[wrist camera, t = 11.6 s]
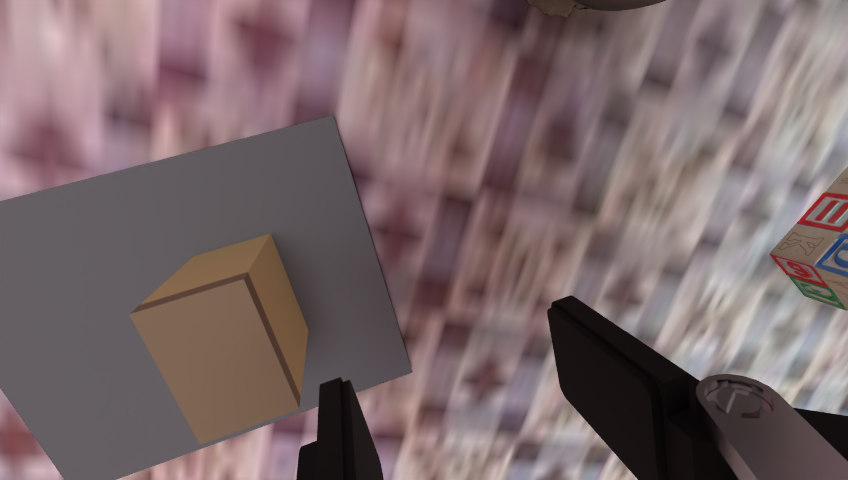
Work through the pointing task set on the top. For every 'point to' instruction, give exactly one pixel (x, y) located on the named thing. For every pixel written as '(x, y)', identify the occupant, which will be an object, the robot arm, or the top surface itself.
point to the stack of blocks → (820, 248)
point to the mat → (154, 264)
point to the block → (228, 338)
